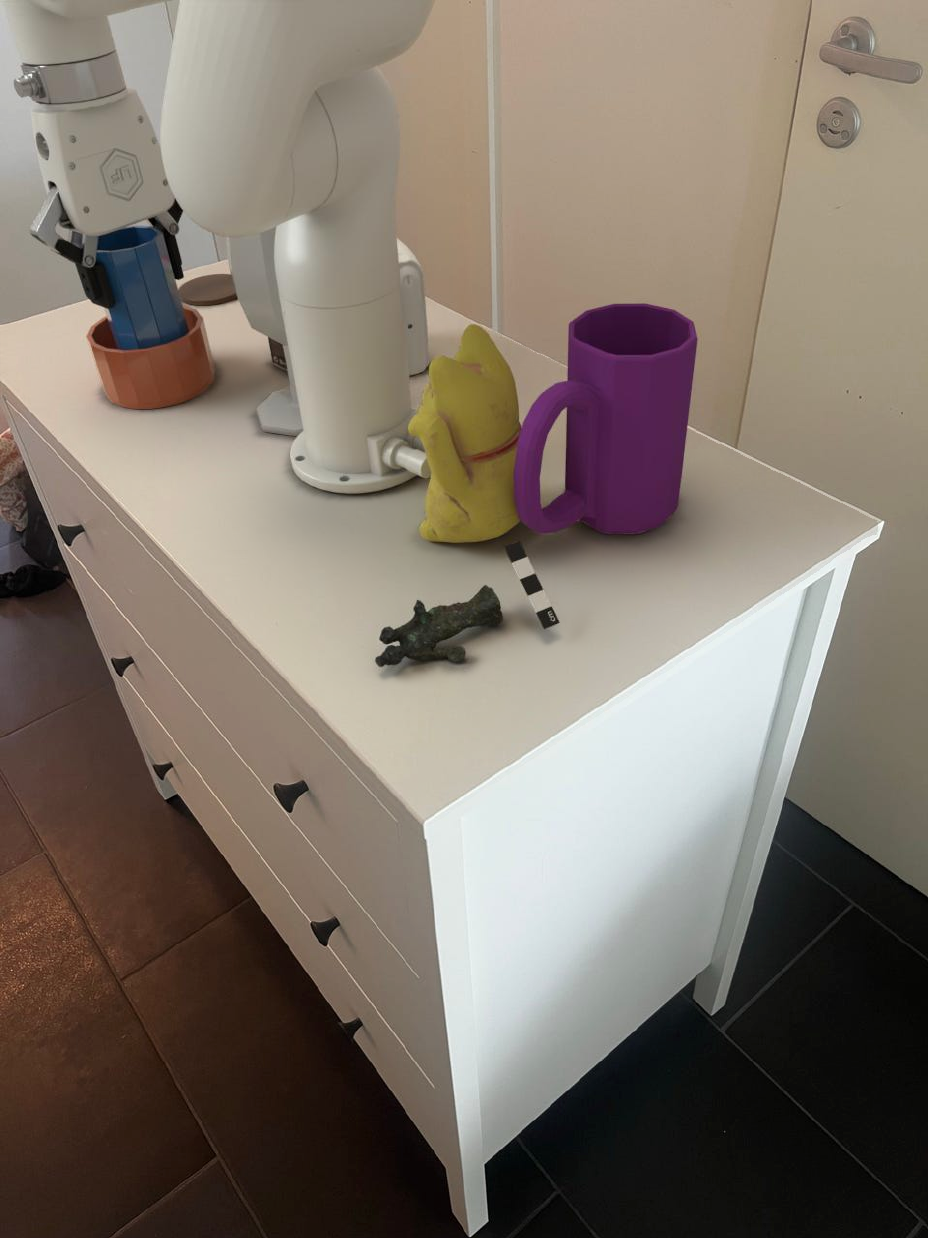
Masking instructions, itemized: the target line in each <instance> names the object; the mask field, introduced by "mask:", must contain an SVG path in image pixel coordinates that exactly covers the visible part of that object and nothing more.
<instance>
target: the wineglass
mask: <svg viewBox="0 0 928 1238" xmlns="http://www.w3.org/2000/svg"><path fill="white" fill-rule="evenodd" d="M275 233H276V227H274V228H272V229H269V230H266V231H264V232H261V233H258V234H255V235H251V236H247V237H239V238H231V237H225V247H226V257H227V262H228V266H229V271H230V274H231V277H232V282H233V286H234V289H235V292H236V295H237V298H236V299H237V300H238V302H239V305H240V306H241V309H242V311H243V313H244V315H245V318H246V319H247V321H248V323H249V325H250V328H251V329H253V330H254V331H256V332H258V333H260V334H262V335H264V336H265V337H267V338H268V337H269V338H271V339H273V340H275V341H277V342H279V343H281V344H282V345H283V348H284V354H285V360H286V365H287V371H288V372H287V371H286V372H287V375H288V376H287V377H288V383H289V387H290V388H286V389H281V390H275V391H273V392H271V393H270V394H269V396H268V397H266V398H265V400H263V402H261V403H260V404H259V405H258V406H257V408H256V415H257V417H258V421H259V425H260V427H261V430H262V432H264V433H272V434H277V435H283V436H290V437H297V436H298V435H299V434H300V433H301V432H302V431H304V430H303V424H302V419H301V413H300V408H299V402H298V397H297V391H296V386H295V380H294V375H293V369H292V364H291V358H290V353H289V347H288V342H287V336H286V331H285V325H284V320H283V314H282V309H281V303H280V298H279V292H278V284H277V279H276V272H275V263H274V242H275Z"/></svg>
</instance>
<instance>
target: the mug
mask: <svg viewBox="0 0 928 1238" xmlns="http://www.w3.org/2000/svg"><path fill="white" fill-rule="evenodd" d="M567 334H568V335H567V372H566V373H567V374H566V375H567V380H564V381H559V382H555V383H554V384H552V385H551V386H550V387H548V388H546V389H545V390H543V391H542V392H541V393H540V394H539V395H538V397H537V398H536V399H535V400H534V402H533V403H532V404H531V406H530V407H529V410H528V412H527V414H526V415H525V418H524V420H523V422H522V424H521V432H520V436H519V439H518V444H517V451H516V458H515V466H514V473H513V480H514V501H515V505H516V509H517V514H518V518H519V519H520V522H522V523H523V524H524V525H526V526H527V527H528V528H529V529H530V530H532V531H533V532H534V533H535V534H537V535H548V534H555V533H557V532H560V531H562V530H564V529H567V528H569V527H571V526H573V525H574V524H576V523H577V522H578V521H580V522H582V523H584V524H585V525H587V526H589V527H591V528H592V529H594V530H596V531H598V532H600V533H602V534H607V535H638V534H640V533H644V532H646V531H650V530H652V529H655V528H658V527H661V526H664V524H665V523H666V522H667V521H668V520H669V518H671V517H672V515H674V513H675V512H676V511H677V509H678V506H679V500H680V493H681V485H682V477H683V467H684V460H685V450H686V443H687V433H688V426H689V416H690V408H691V399H692V391H693V381H694V373H695V365H696V356H697V350H698V349H697V347H698V341H699V340H698V339H699V338H698V334H697V331H696V326H695V322H694V321H693V320H691V319H690V318H688V317H686V316H685V315H684V314H682V313H680V312H679V311H677V310H675V309H672V308H668V307H664V306H660V305H654V304H650V303H646V302H645V303H642V302H641V303H640V302H639V303H611V304H607V305H603V306H599V307H595V308H591V309H588V310H585V311H583V312H582V313H581V314H579V315H578V316H577V317H575V318H574V319H573V320H571V321H570V322H569V323H568V333H567ZM565 409H566V417H565V418H566V422H565V424H566V425H565V426H566V427H565V464H564V465H565V466H564V467H565V468H564V491H563V492H562V493H560V494H558V496H556V497H555V498H554V499H553V500H552V501H551V502H550V503H548V504H547V505H546V506H545V507H542V497H541V496H542V495H541V474H542V473H541V472H542V466H543V458H544V450H545V447H546V444H547V440H548V437H549V434H550V432H551V430H552V428H553V427H554V425H555V422H556V421H557V419H558V418H559V416H560V415H561V414H562V411H564V410H565Z"/></svg>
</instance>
